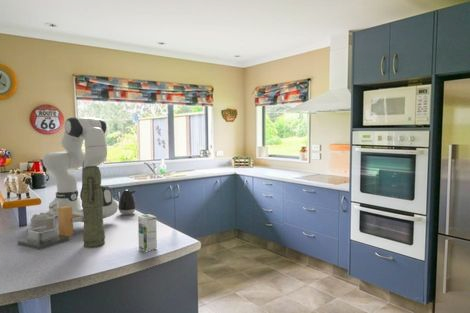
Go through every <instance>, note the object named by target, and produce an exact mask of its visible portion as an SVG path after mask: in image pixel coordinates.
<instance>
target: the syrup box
mask: <svg viewBox="0 0 470 313" xmlns="http://www.w3.org/2000/svg"><path fill="white" fill-rule="evenodd" d="M137 222H138V224H137V225H138V226H137V228H138V250H139V249H140V251H141V250H142V251H141V252H143V251H144V253H147V252H146V251H149V252H151V251H150V250H152V251H154V250H153V249H156V248H157V247H158V246H157V242H158V239H157V216H155V215H153V214H150V213H149V214H141V215H138V216H137ZM157 249H158V248H157ZM157 249H156V250H157Z"/></svg>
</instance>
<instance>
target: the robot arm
mask: <svg viewBox="0 0 470 313" xmlns="http://www.w3.org/2000/svg"><path fill="white" fill-rule="evenodd" d="M106 132H107V123H106V121H105V120H104V119H102V118H99V117H88V116H87V117H86V116H85V117H84V116H83V117H82V116H81V117H76V116H75V117H68V118H67V119H66V120H65V122H64V132H63V136H62V139H61V141H60V143H61V146H62V148H64V150H65V151H64V150H63V151H53V152H52V151H51V152H48V153H46V154H45V155H43V158H42V165H43V166H44V168H45V169H46V170H48V171H50V173H52V175H53V176H54V178H55V181H56V189H57V191H56V192H55V193H54V194H55V198H54V199H53V200H52V201H51V202H50V203H49V205H48V210H46V211H45V212H44V214H46V213H47V212H49V213H54V215H55V218H58V207H63V206H71V207H72V214H73V219H71V222H73V224H74V223H84V217H83V208H82V205H81V201H82V198H81V194H82V191H83V185H82V184H81V190H80V195H79V190H78V180H77V177H76V176H74V175H72V174H70V173H69V172H68V170H70V169H71V170H72V169H79V168H82V172H83V169H84V167H86V166H97V167H99V165H101V164H102V163H103V162H105V161H106V159H107V157H108V147H107V146H108V145H107V140H106V136H105V133H106ZM83 143H84V151H83V150H82V146H83ZM101 189H102V192H103V207H102V209H103V219H107V218H109V217H112V216H114V215H116V213H117V211H118V210H119V209H118V205H119V204H118V203H117V201H116V200H115V199H114V198H113V192H112V189H111V187H109V186H108V185H105V184H103V185H102V184H101Z"/></svg>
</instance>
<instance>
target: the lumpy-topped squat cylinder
mask: <svg viewBox="0 0 470 313" xmlns="http://www.w3.org/2000/svg"><path fill="white" fill-rule="evenodd" d="M56 222H57V221H56V217H55V215H54V213H49V212H47V213H46V214H45V212H40V213H39V214H33V215H32V217H31V219H30V225H31V226H30V227H31V229H35V228H39V227H42V226H46V228H47V230H51V229H55V228H57V226H56V224H57V223H56ZM31 229H30V230H31Z"/></svg>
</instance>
